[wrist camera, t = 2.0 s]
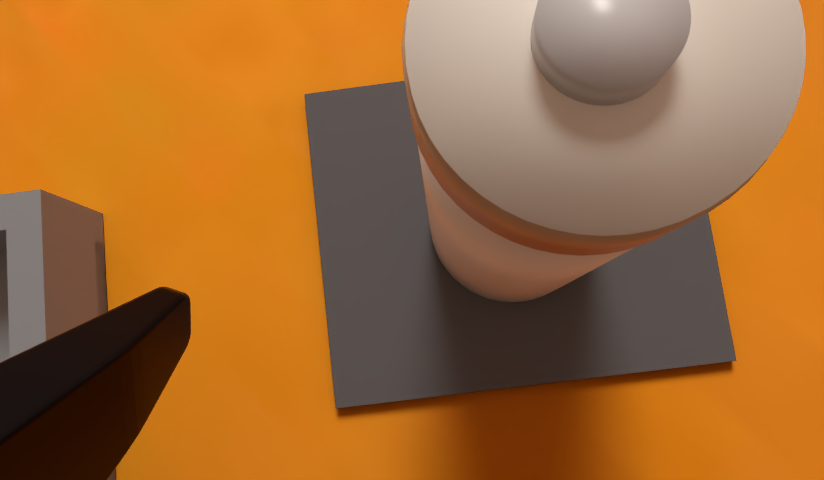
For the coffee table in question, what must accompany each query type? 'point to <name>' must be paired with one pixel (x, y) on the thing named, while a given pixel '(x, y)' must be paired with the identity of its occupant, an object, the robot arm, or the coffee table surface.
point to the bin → (48, 269)
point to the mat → (466, 311)
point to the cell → (588, 125)
